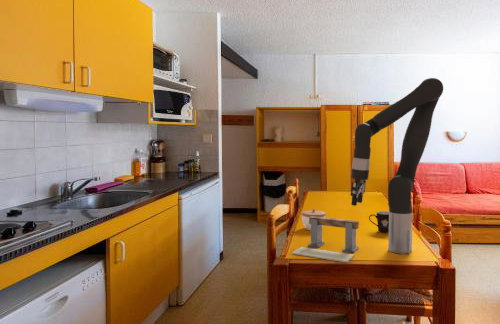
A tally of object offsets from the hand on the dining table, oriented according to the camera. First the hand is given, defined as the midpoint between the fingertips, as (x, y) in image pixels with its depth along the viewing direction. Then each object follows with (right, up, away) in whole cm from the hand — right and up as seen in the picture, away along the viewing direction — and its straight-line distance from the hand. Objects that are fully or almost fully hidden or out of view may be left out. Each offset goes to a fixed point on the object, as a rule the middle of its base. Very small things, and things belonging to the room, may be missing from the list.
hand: (356, 203), depth 187 cm
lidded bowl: (-14, -18, +36) cm, 43 cm away
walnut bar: (-11, -10, 0) cm, 14 cm away
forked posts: (-10, -20, +1) cm, 22 cm away
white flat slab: (-17, -21, -10) cm, 29 cm away
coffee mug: (+21, -18, +31) cm, 41 cm away
